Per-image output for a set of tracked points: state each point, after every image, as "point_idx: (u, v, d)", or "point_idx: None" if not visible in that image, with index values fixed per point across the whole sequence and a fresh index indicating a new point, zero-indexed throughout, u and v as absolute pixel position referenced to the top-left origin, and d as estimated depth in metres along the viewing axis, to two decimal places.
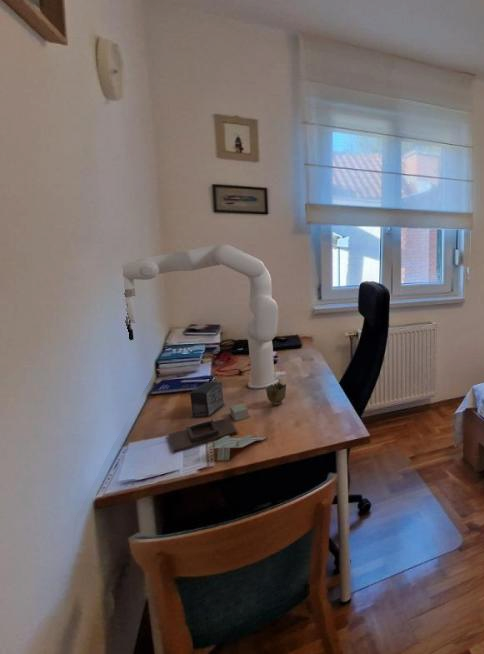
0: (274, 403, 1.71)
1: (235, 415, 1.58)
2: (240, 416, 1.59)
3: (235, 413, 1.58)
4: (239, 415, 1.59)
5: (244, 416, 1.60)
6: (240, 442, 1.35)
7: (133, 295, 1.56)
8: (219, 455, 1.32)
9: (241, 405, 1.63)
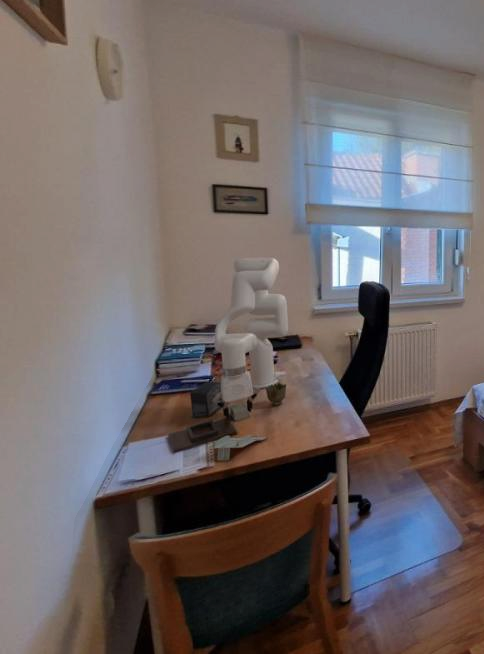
0: (274, 403, 1.71)
1: (235, 415, 1.58)
2: (240, 416, 1.59)
3: (235, 413, 1.58)
4: (239, 415, 1.59)
5: (244, 416, 1.60)
6: (240, 442, 1.35)
7: (230, 375, 1.56)
8: (219, 455, 1.32)
9: (241, 405, 1.63)
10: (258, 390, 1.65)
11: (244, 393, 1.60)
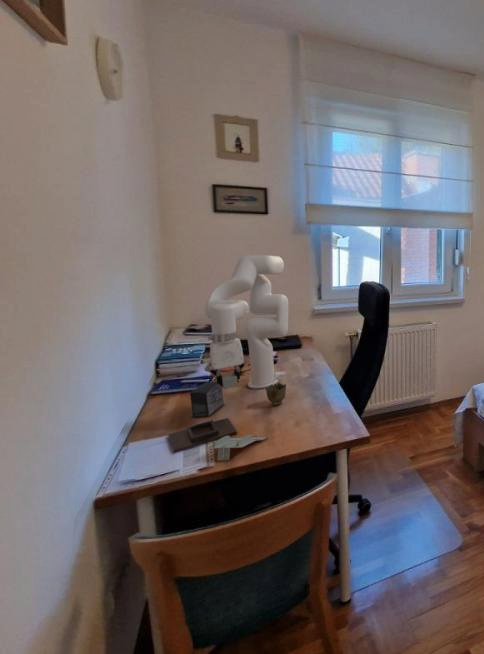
0: (274, 403, 1.71)
1: (224, 383, 1.53)
2: (229, 384, 1.54)
3: (224, 381, 1.53)
4: (228, 383, 1.54)
5: (233, 385, 1.55)
6: (240, 442, 1.35)
7: (220, 341, 1.50)
8: (219, 455, 1.32)
9: (231, 374, 1.58)
10: (247, 361, 1.60)
11: (234, 360, 1.55)
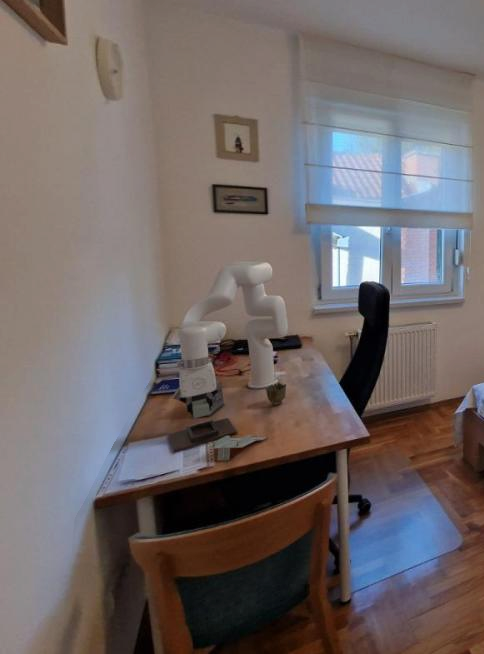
0: (274, 403, 1.71)
1: (194, 412, 1.42)
2: (200, 413, 1.43)
3: (194, 410, 1.42)
4: (199, 412, 1.43)
5: (205, 413, 1.44)
6: (240, 442, 1.35)
7: (189, 367, 1.40)
8: (219, 455, 1.32)
9: (203, 401, 1.48)
10: (220, 387, 1.49)
11: (206, 387, 1.44)
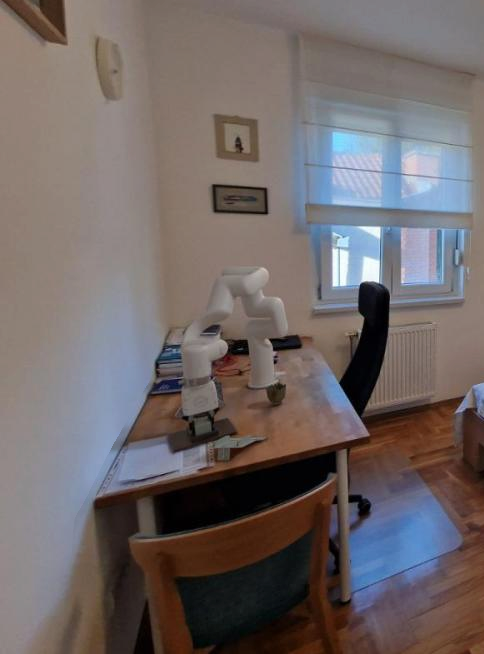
0: (274, 403, 1.71)
1: (196, 430, 1.43)
2: (202, 431, 1.44)
3: (196, 428, 1.43)
4: (201, 430, 1.44)
5: (207, 431, 1.45)
6: (240, 442, 1.35)
7: (191, 386, 1.41)
8: (219, 455, 1.32)
9: (205, 418, 1.49)
10: (222, 404, 1.50)
11: (208, 405, 1.45)
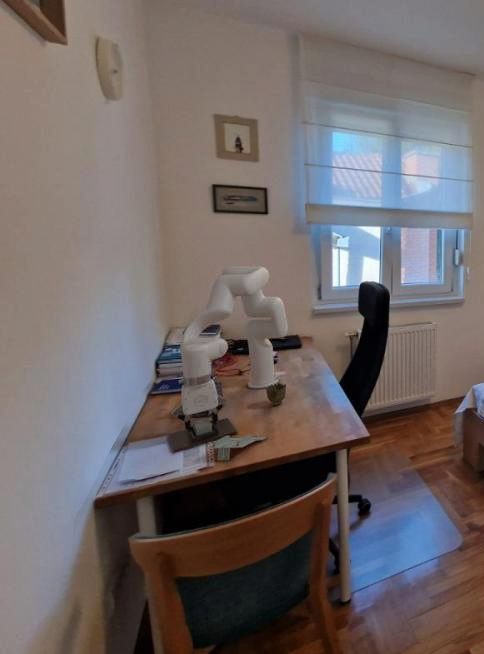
0: (274, 403, 1.71)
1: (197, 432, 1.43)
2: (203, 433, 1.45)
3: (197, 430, 1.43)
4: (201, 431, 1.44)
5: None
6: (240, 442, 1.35)
7: (191, 385, 1.41)
8: (219, 455, 1.32)
9: (205, 420, 1.49)
10: (224, 401, 1.50)
11: (208, 404, 1.45)
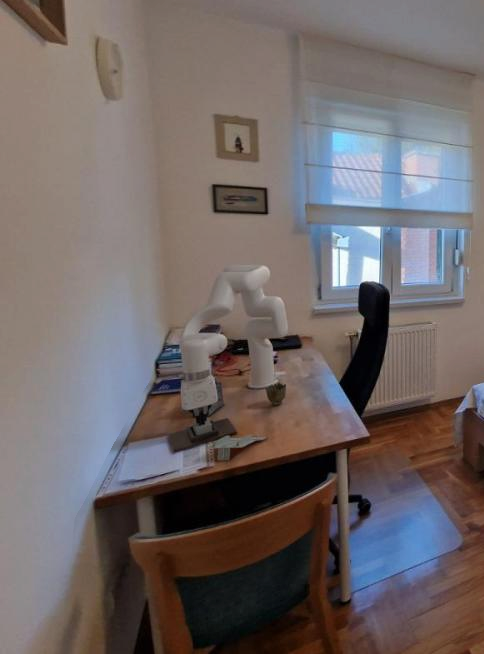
0: (274, 403, 1.71)
1: (197, 432, 1.43)
2: (203, 433, 1.45)
3: (197, 430, 1.43)
4: (201, 431, 1.44)
5: None
6: (240, 442, 1.35)
7: (191, 380, 1.40)
8: (219, 455, 1.32)
9: None
10: (216, 402, 1.49)
11: (207, 400, 1.45)
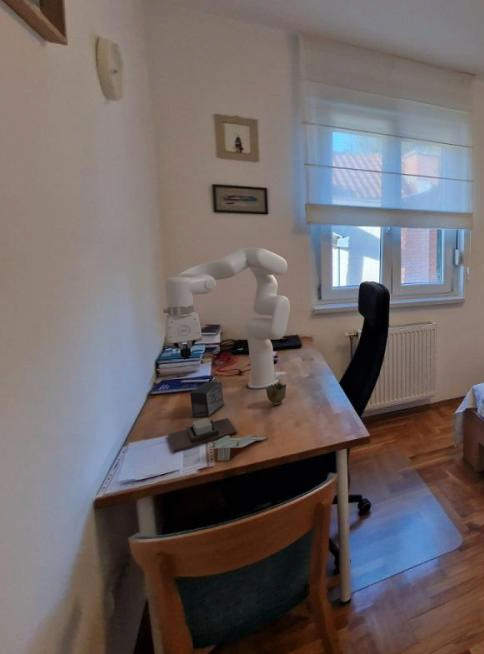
0: (274, 403, 1.71)
1: (197, 432, 1.43)
2: (203, 433, 1.45)
3: (197, 430, 1.43)
4: (201, 431, 1.44)
5: None
6: (240, 442, 1.35)
7: (175, 314, 1.48)
8: (219, 455, 1.32)
9: (205, 420, 1.49)
10: (200, 339, 1.56)
11: (191, 335, 1.52)
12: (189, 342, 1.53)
